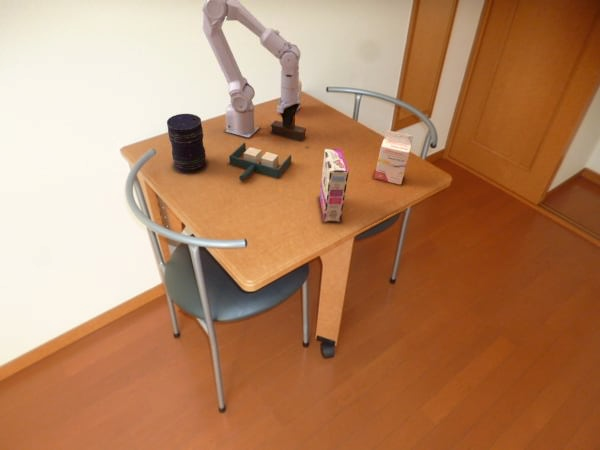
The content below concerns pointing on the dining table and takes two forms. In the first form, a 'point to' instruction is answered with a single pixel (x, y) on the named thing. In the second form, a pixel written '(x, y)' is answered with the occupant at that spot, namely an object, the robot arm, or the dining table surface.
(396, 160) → the ink cartridge box
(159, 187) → the dining table surface
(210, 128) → the dining table surface
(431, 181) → the dining table surface
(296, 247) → the dining table surface
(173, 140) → the storage jar
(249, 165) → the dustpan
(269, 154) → the cream white cube
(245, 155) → the beige cube
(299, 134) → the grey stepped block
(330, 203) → the candy bar box
